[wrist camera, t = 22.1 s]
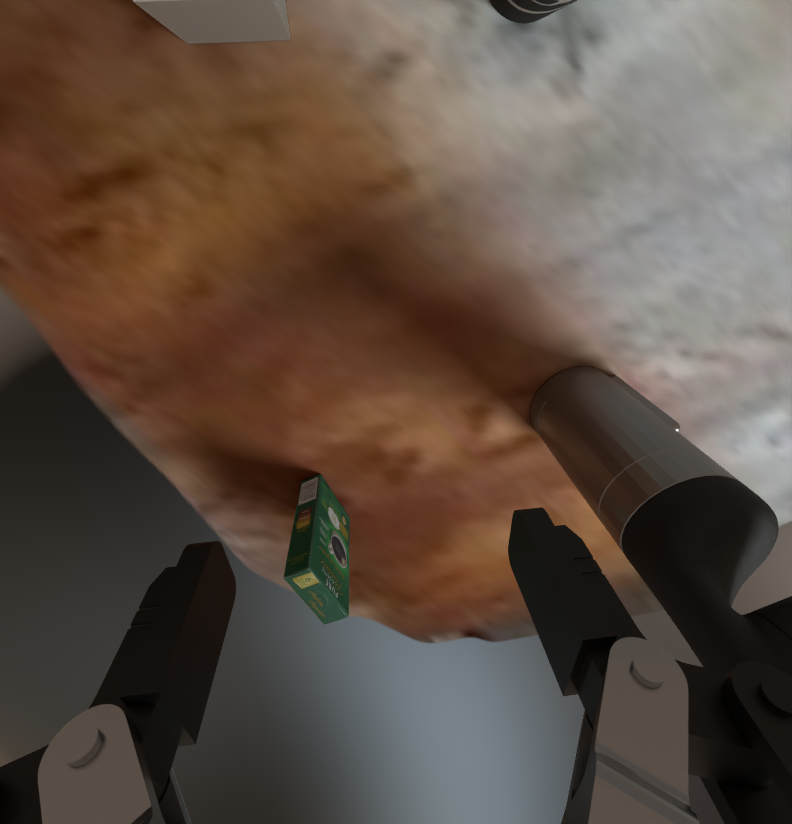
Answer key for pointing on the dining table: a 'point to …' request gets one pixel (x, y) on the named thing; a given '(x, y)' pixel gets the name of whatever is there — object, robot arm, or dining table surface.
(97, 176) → the dining table surface
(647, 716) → the robot arm
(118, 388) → the dining table surface
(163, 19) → the block
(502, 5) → the coffee cup
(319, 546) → the coffee box
